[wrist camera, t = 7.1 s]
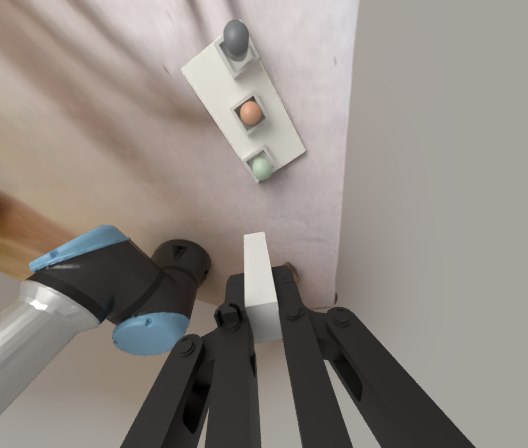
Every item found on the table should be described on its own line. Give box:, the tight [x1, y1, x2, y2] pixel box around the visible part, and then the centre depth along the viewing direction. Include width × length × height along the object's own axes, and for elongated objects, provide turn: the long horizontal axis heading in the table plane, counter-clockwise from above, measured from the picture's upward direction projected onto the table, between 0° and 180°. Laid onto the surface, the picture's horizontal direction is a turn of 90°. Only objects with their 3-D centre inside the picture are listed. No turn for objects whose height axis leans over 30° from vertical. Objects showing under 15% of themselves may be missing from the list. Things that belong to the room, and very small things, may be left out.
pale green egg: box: [252, 157, 272, 181], centre depth 40 cm, size 4×4×5 cm
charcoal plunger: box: [223, 20, 249, 62], centre depth 31 cm, size 4×4×5 cm
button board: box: [181, 20, 306, 183], centre depth 40 cm, size 13×25×3 cm, turn 32°
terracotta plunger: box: [240, 101, 261, 125], centre depth 38 cm, size 4×4×5 cm
